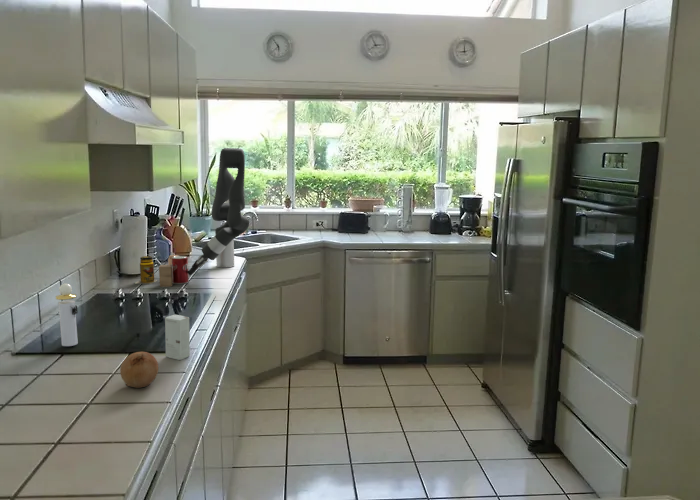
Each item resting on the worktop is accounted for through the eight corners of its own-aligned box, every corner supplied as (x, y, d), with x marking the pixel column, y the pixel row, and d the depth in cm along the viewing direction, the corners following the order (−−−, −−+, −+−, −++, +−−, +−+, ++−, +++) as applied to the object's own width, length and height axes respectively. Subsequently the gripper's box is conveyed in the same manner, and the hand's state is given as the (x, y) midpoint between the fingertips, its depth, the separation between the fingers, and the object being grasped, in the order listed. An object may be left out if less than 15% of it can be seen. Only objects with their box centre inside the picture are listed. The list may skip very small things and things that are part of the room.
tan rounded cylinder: (171, 277, 290) (170, 254, 288) (183, 277, 290) (182, 254, 288) (167, 280, 285) (166, 256, 283) (179, 280, 284) (177, 256, 282)
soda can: (172, 284, 274) (170, 258, 272) (173, 281, 281) (171, 256, 279) (188, 284, 276) (187, 258, 274) (189, 280, 283) (188, 255, 281)
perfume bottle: (57, 349, 185) (52, 286, 182) (62, 343, 191) (57, 281, 187) (77, 348, 186) (72, 285, 183) (81, 342, 192) (77, 281, 189)
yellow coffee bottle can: (151, 284, 276) (150, 258, 274) (133, 283, 277) (132, 257, 275) (158, 280, 283) (156, 255, 281) (140, 280, 284) (139, 255, 282)
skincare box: (165, 357, 179) (163, 317, 177) (176, 352, 183) (174, 313, 181) (180, 360, 176) (178, 320, 174) (191, 356, 180) (189, 316, 178)
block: (161, 284, 275) (160, 265, 274) (172, 284, 276) (171, 264, 275) (160, 286, 270) (159, 267, 269) (171, 286, 271) (170, 266, 270)
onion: (144, 401, 155) (142, 374, 149) (113, 387, 157) (110, 360, 151) (166, 376, 162) (165, 350, 157) (136, 364, 164) (134, 337, 159)
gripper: (212, 239, 281) (188, 265, 284) (203, 243, 268) (178, 270, 271) (224, 251, 282) (199, 276, 284) (216, 255, 269) (190, 282, 271)
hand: (189, 273), depth 278 cm, fingers closed
